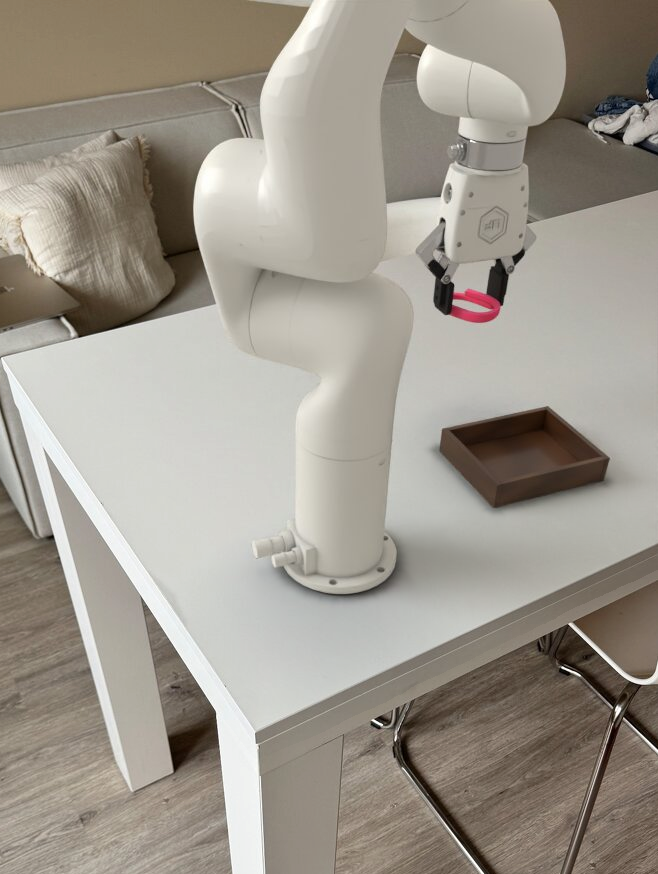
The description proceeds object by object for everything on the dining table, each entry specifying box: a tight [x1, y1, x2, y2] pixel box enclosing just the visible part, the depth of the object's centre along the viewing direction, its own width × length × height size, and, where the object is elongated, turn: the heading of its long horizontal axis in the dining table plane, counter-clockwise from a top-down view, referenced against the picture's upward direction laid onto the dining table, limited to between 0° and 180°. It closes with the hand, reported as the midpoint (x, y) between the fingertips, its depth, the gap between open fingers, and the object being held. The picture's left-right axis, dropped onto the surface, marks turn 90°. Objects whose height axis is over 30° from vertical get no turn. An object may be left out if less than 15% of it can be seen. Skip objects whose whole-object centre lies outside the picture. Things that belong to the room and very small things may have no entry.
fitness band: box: [449, 288, 502, 324], centre depth 111 cm, size 8×6×2 cm
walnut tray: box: [438, 405, 611, 509], centre depth 111 cm, size 16×13×3 cm
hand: (468, 305), depth 111 cm, fingers closed on fitness band, 6 cm apart
